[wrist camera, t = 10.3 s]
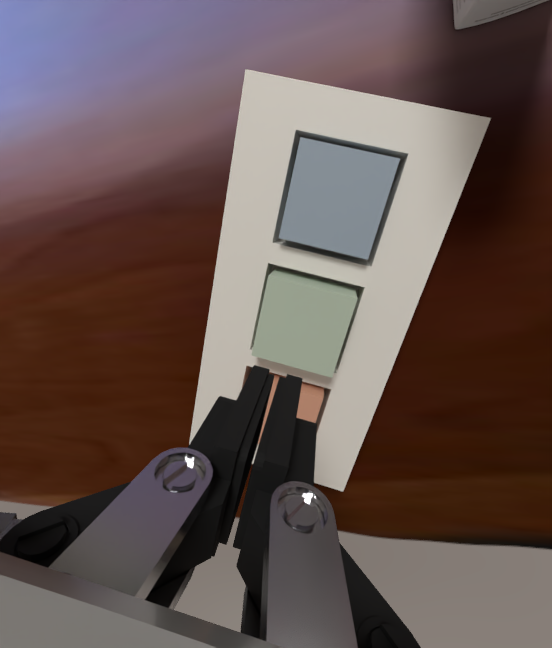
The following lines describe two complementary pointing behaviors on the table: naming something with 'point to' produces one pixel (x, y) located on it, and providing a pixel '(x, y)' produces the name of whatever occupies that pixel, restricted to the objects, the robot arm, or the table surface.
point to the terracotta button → (300, 401)
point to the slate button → (337, 197)
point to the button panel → (364, 275)
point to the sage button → (303, 321)
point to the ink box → (487, 10)
